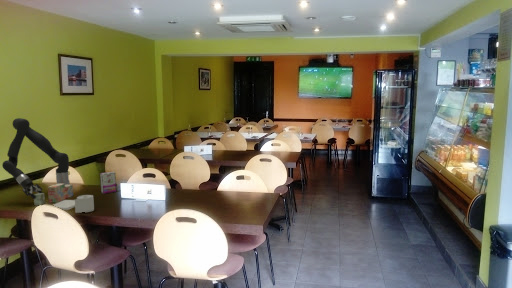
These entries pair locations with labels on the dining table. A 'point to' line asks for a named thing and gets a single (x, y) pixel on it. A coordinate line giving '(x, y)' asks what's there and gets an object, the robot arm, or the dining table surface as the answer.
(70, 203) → the cutting board
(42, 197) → the sage block
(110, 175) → the candy bar box
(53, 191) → the colorful patterned box
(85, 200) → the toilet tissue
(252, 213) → the dining table surface
